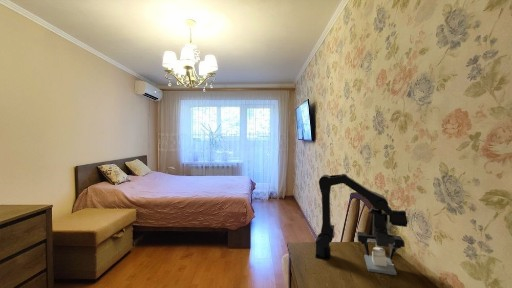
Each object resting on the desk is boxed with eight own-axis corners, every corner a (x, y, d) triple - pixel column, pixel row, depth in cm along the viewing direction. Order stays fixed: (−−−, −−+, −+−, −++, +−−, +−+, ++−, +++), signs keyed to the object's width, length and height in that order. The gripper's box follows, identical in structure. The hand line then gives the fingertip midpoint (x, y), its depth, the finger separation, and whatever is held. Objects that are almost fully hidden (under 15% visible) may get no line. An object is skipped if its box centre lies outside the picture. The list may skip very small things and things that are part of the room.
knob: (374, 264, 110) (374, 251, 110) (372, 259, 115) (372, 246, 115) (386, 266, 109) (386, 252, 109) (383, 260, 114) (383, 247, 113)
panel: (368, 271, 107) (368, 260, 107) (364, 257, 120) (364, 247, 120) (397, 275, 104) (397, 264, 104) (390, 260, 117) (390, 250, 116)
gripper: (359, 227, 106) (359, 263, 107) (408, 232, 101) (407, 270, 101) (357, 219, 117) (356, 251, 118) (401, 223, 112) (400, 257, 112)
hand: (379, 257), depth 112 cm, fingers open, 9 cm apart
